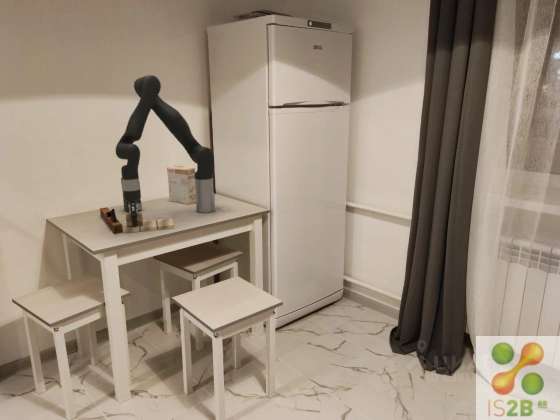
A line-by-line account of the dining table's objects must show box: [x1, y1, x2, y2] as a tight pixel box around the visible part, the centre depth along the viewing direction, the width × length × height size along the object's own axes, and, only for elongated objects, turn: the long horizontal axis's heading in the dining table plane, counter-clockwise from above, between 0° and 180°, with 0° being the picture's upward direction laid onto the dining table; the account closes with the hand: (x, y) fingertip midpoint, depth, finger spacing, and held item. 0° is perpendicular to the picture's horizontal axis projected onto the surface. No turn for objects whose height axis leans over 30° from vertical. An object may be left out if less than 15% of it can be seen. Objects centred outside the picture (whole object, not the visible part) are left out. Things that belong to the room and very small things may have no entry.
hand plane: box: [99, 207, 123, 235], centre depth 208 cm, size 34×5×10 cm, turn 33°
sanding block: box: [125, 212, 144, 227], centre depth 200 cm, size 7×4×5 cm, turn 108°
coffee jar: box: [120, 177, 143, 213], centre depth 228 cm, size 10×8×19 cm
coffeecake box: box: [166, 165, 196, 205], centre depth 245 cm, size 15×7×20 cm, turn 58°
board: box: [122, 217, 175, 234], centre depth 203 cm, size 22×11×2 cm, turn 108°
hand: (135, 224), depth 201 cm, fingers closed on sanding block, 4 cm apart
